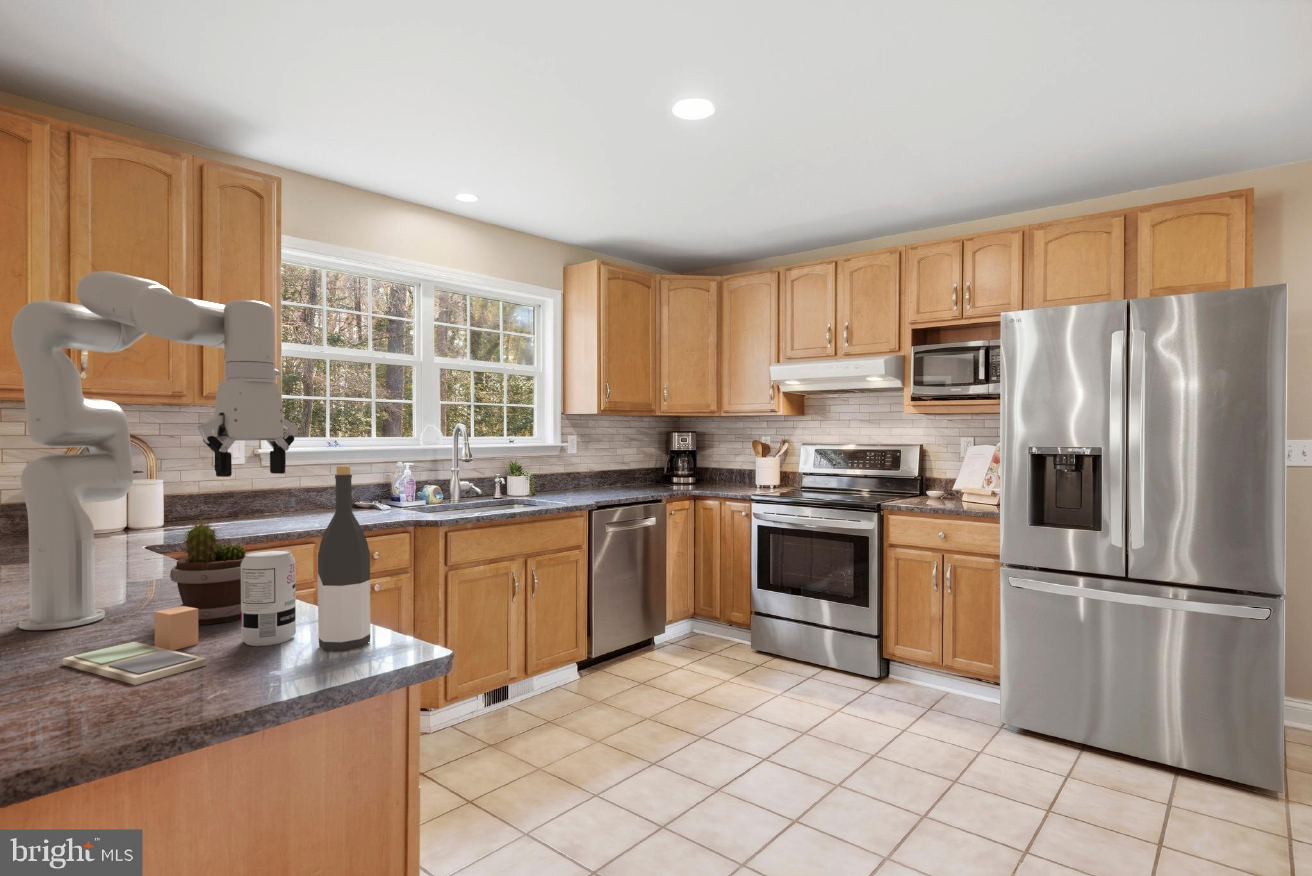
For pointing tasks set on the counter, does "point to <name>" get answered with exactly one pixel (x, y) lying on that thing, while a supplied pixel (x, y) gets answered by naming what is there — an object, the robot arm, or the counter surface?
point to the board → (134, 662)
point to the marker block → (176, 628)
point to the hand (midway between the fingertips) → (251, 474)
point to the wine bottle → (343, 576)
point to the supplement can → (268, 597)
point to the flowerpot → (210, 576)
